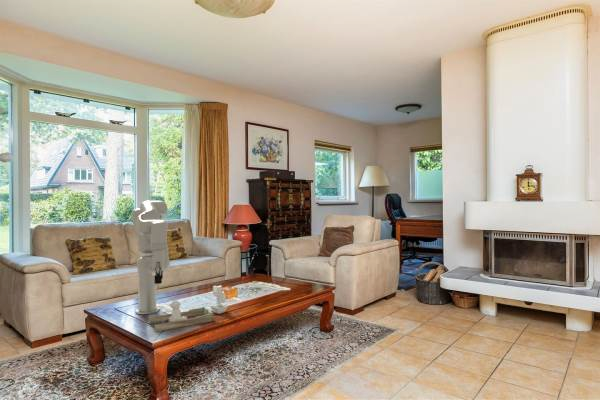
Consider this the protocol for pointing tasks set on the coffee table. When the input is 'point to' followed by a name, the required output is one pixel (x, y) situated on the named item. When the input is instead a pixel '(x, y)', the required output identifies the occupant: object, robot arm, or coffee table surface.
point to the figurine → (219, 300)
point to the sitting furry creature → (176, 312)
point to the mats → (156, 324)
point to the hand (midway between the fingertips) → (158, 281)
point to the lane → (192, 312)
